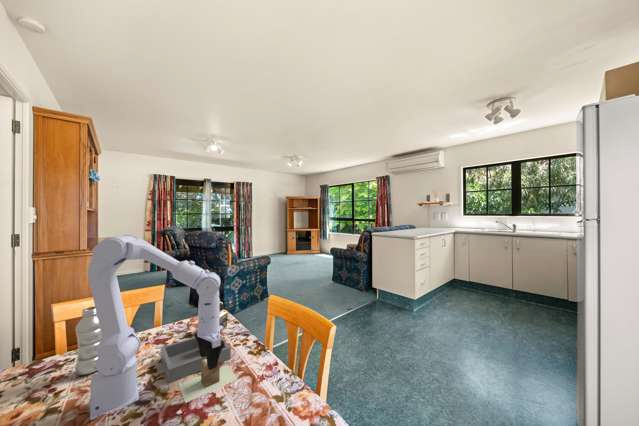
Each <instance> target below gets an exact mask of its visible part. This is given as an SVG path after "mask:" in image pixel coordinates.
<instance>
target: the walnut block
mask: <svg viewBox="0 0 639 426" xmlns="http://www.w3.org/2000/svg"><path fill="white" fill-rule="evenodd" d="M220 364H221V363H220V361H219V360H218V364H217V367H216V368H213V369H211V370H209V369H208V366H207V359H203V360H201V371H200V376H201V381H202V383H203V385H204V387H205V388H206V387H208V386H210V385H213V384H215V383H217V382H220V368H221V367H220Z"/></svg>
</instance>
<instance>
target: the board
mask: <svg viewBox="0 0 639 426" xmlns="http://www.w3.org/2000/svg"><path fill="white" fill-rule="evenodd" d="M235 381H238V377H237V375H236V374H235V373H234V372H233V371H232V369H231V367H230V366H229V365H228V364H226V365H223V366H221V367H220V382H217V383H215V384H213V385H210V386H208V387H206V388H205V387H204V385H203V383H202V381H201V375H199V376H196V377H193V378H192V379H189V380H187V381H184V382H181V383H179V384H178V387H179V390H180V393H181V396H182V398H183V400H184V403H185V404H187V403H189V402H191V401H193V400H195V399H198V398H200V397H202V396H205V395H206V394H208V393H211V392H213V391H215V390H217V389H220V388H222V387H224V386H226V385H228V384H230V383H232V382H235Z"/></svg>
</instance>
